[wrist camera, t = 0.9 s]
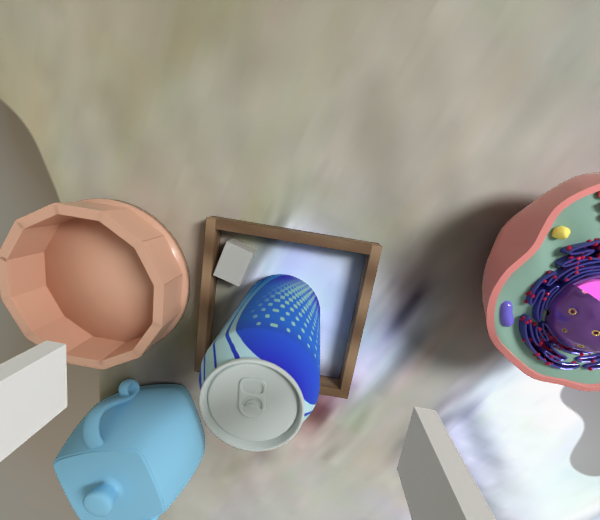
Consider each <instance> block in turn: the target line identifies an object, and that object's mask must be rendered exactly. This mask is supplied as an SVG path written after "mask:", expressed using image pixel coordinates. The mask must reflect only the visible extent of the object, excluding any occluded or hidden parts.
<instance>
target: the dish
mask: <svg viewBox="0 0 600 520" xmlns="http://www.w3.org/2000/svg"><path fill="white" fill-rule="evenodd" d="M0 292H1V298H2V301H3V302H4V304H5V306H6V307H7V309H8V310H9V312H10V313H11V315H12V317H13V318H14V320H15V321H16V323H17V324H18V326H19V328H20V329H21V331H22V333H23V334H24V335H25V337H26V338H28V339H29V340H30V341H32V342H33V343H35V344H36V345H39V344H41V343H43V342H44V341H46V340H47V341H53V342H58V343H64V344H66V363H69V364H74V365H80V366H85V367H91V368H96V369H102V370H104V369H107V368H110V367H113V366H116V365H119V364H122V363H125V362H128V361H131V360H134V359H137V358H139V357H141V356H142V355H143V354H144V353H145V352H146V351H147V350H148V349H149V348H150V347H151V346H152V345H154V344H155V343H157V342H158V341H160V340H162V339H163V338H164V337H165V336H166V335H168V334H169V333H170V332H171V331H172V330H173V329H174V328H175V326H176V325H177V324H178V323H179V321H180V320H181V318H182V317H183V314H184V312H185V310H186V307H187V304H188V301H189V294H190V277H189V270H188V267H187V263H186V260H185V257H184V255H183V252H182V250H181V248H180V247H179V245H178V243H177V241H176V240H175V239H174V237H173V236H172V234H171V233H170V232H169V231H168V230H167V229H166V227H165V226H164V225H163V224H162V223H160V222H159V221H158V220H157V219H156V218H155V217H153V216H152V215H150V214H149V213H147V212H146V211H144V210H142V209H140V208H138V207H137V206H134V205H132V204H129V203H126V202H122V201H118V200H112V199H87V200H82V201H77V202H63V203H53V204H50V205H48V206H46V207H44V208H42V209H40V210H37V211H35V212H33V213H30V214H28V215H26V216H24V217H22V218H19V219H17V220H16V221H15V222H14V224H13V226H12V228H11V230H10V232H9V234H8V236H7V238H6V240H5V242H4V243H3V245H2V247H1V249H0Z"/></svg>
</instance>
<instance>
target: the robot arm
mask: <svg viewBox="0 0 600 520" xmlns="http://www.w3.org/2000/svg"><path fill="white" fill-rule="evenodd" d="M66 407H67V367H66V344H64V343H58V342H53V341H47V340H46V341H44V342H43V343H41V344H39V345H37V346H35V347H33V348H31V349H29V350H27V351H25V352H23V353H21V354H19V355H17V356H16V357H14V358H12V359H10V360H8V361H6V362H4V363H2V364H0V462H1V461H2V460H3V459H4V458H6V457H7V456H8V455H9V454H10V453H12V452H13V451H14V450H15V449H17V448H18V447H19V446H20V445H21V444H23V443H24V442H25V441H26V440H28V439H29V438H30V437H31V436H32V435H33V434H35V433H36V432H37V431H38V430H40V429H41V428H42V427H43V426H45V425H46V424H47V423H48V422H49V421H51V419H53V418H54V417H55V416H57V415H58V414H59V413H60V412H61V411H63V410H64V409H65V408H66ZM397 470H398V473H399V476H400V480H401V483H402V487H403V490H404V494H405V497H406V500H407V504H408V507H409V511H410V514H411V518H412V520H496V519H495V517H494V515H493V513H492V512H491V510H490V508H489V506H488V504H487V503H486V501H485V499H484V497H483V495H482V494H481V492H480V490H479V488H478V486H477V485H476V483H475V481H474V479H473V477H472V476H471V474H470V472H469V470H468V468H467V466H466V465H465V463H464V461H463V459H462V457H461V456H460V454H459V452H458V450H457V448H456V447H455V445H454V443H453V441H452V439H451V438H450V436H449V434H448V432H447V430H446V429H445V427H444V425H443V423H442V421H441V420H440V418H439V416H438V414H437V412H436V411H435V410H431V409H425V408H420V407H414V409H413V413H412V416H411V420H410V424H409V427H408V431H407V434H406V438H405V442H404V445H403V449H402V452H401V456H400V460H399V463H398V467H397Z"/></svg>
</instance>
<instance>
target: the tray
mask: <svg viewBox="0 0 600 520" xmlns="http://www.w3.org/2000/svg"><path fill="white" fill-rule="evenodd" d="M221 230H224V231H230V232H236V233H242V234H248V235H254V236H260V237H266V238H272V239H278V240H284V241H290V242H296V243H302V244H308V245H314V246H320V247H326V248H332V249H338V250H344V251H350V252H356V253H362V254H366V258H365V263H364V268H363V272H362V277H361V281H360V286H359V290H358V295H357V300H356V304H355V309H354V313H353V318H352V323H351V327H350V332H349V336H348V341H347V346H346V350H345V355H344V359H343V364H342V369H341V373H340V378H339V379H337V378H332V377H326V376H321V375H320V390H319V394H323V395H329V396H334V397H340V398H345V399H347V398H348V394H349V390H350V385H351V381H352V377H353V372H354V368H355V364H356V359H357V355H358V351H359V346H360V342H361V338H362V333H363V329H364V325H365V320H366V316H367V312H368V307H369V303H370V298H371V294H372V290H373V285H374V281H375V277H376V272H377V268H378V264H379V259H380V255H381V251H382V246H381V245H380V244H379V243H373V242H367V241H361V240H355V239H349V238H343V237H337V236H331V235H325V234H319V233H313V232H307V231H301V230H295V229H289V228H283V227H277V226H271V225H265V224H259V223H253V222H246V221H240V220H234V219H228V218H222V217H216V216H211V217H207V218H206V227H205V240H204V253H203V266H202V279H201V292H200V305H199V318H198V331H197V344H196V357H195V370H194V371H196V372H200V366H201V363H202V360H203V358H204V356H205V354H206V352H207V350H208V349H209V347H210V346H211V337H212V326H213V315H214V304H215V293H216V282H217V277H216V276H214V275H213V274H214V272H215V269H216V267H217V264H218V259H219V248H220V237H221Z"/></svg>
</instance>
